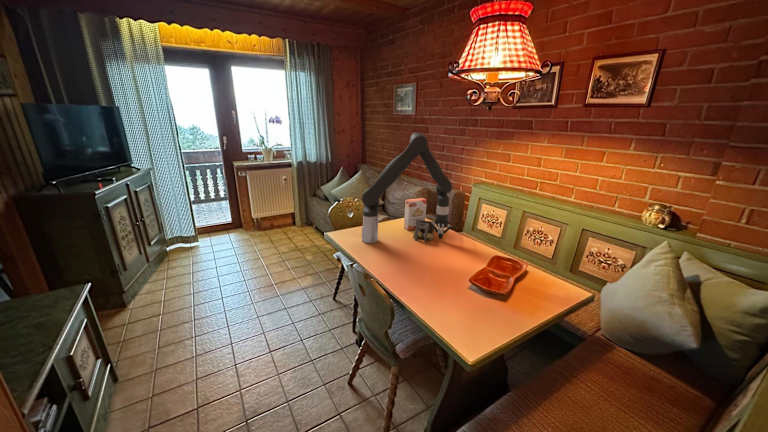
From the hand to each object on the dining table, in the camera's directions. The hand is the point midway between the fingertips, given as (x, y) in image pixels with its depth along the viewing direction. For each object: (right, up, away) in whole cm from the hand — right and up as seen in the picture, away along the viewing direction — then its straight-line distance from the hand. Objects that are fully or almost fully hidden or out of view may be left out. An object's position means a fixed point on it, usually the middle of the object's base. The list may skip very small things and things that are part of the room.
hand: (440, 238), depth 187 cm
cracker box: (-14, +6, +22) cm, 26 cm away
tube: (-10, 0, +4) cm, 11 cm away
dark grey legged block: (-11, 0, +4) cm, 12 cm away
